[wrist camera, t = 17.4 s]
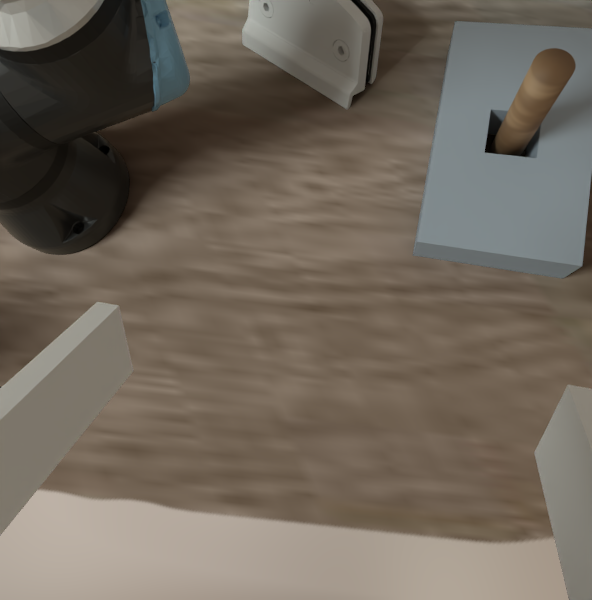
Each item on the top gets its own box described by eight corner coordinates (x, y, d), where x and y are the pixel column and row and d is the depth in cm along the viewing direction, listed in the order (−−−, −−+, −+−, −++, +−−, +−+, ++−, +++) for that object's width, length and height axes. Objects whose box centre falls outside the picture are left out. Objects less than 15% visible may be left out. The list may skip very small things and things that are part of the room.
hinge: (240, 43, 54) (236, -53, 46) (266, 26, 56) (268, -69, 48) (349, 111, 50) (369, 19, 41) (374, 91, 52) (398, -1, 43)
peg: (485, 167, 46) (530, 81, 34) (489, 141, 47) (534, 46, 34) (516, 171, 46) (573, 84, 33) (519, 144, 46) (577, 49, 34)
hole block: (562, 278, 43) (582, 266, 39) (412, 255, 46) (416, 241, 42) (586, 59, 47) (606, 29, 43) (448, 50, 50) (455, 20, 46)
